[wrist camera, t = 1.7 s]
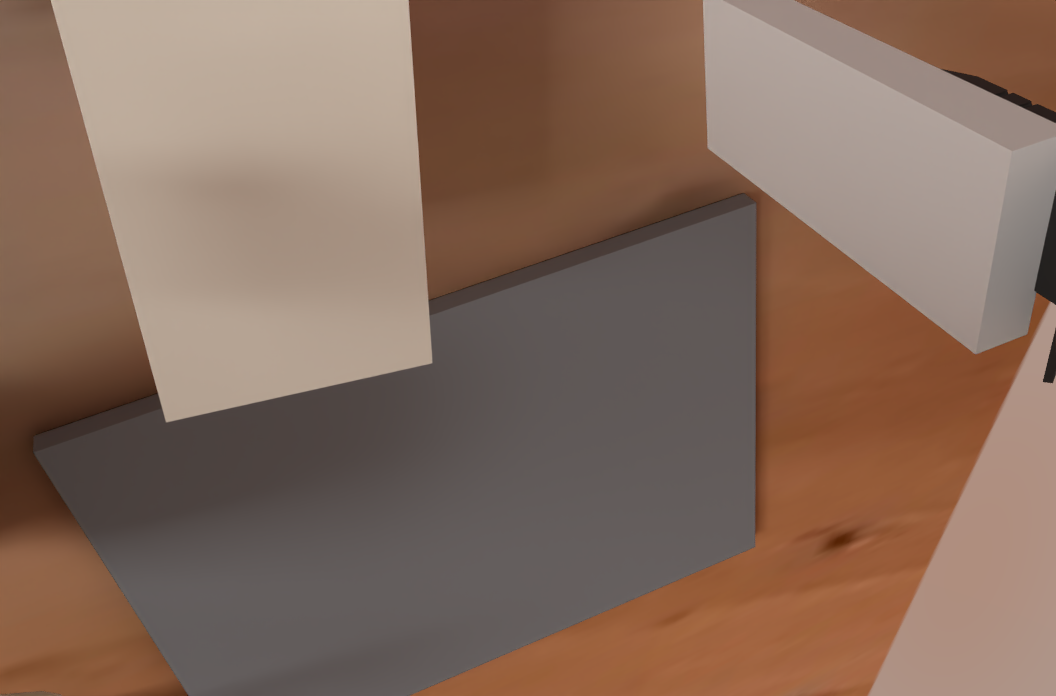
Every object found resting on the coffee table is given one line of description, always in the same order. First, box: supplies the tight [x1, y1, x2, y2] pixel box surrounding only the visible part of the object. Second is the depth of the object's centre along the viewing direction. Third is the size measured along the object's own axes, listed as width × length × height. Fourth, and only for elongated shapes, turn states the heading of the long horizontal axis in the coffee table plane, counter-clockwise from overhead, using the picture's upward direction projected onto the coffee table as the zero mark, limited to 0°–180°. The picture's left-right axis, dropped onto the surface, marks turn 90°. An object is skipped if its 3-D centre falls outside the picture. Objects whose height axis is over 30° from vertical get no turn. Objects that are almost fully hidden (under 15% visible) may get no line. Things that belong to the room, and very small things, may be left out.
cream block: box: [51, 0, 432, 422], centre depth 21 cm, size 6×14×8 cm, turn 0°
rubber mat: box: [33, 193, 756, 696], centre depth 36 cm, size 24×18×1 cm
